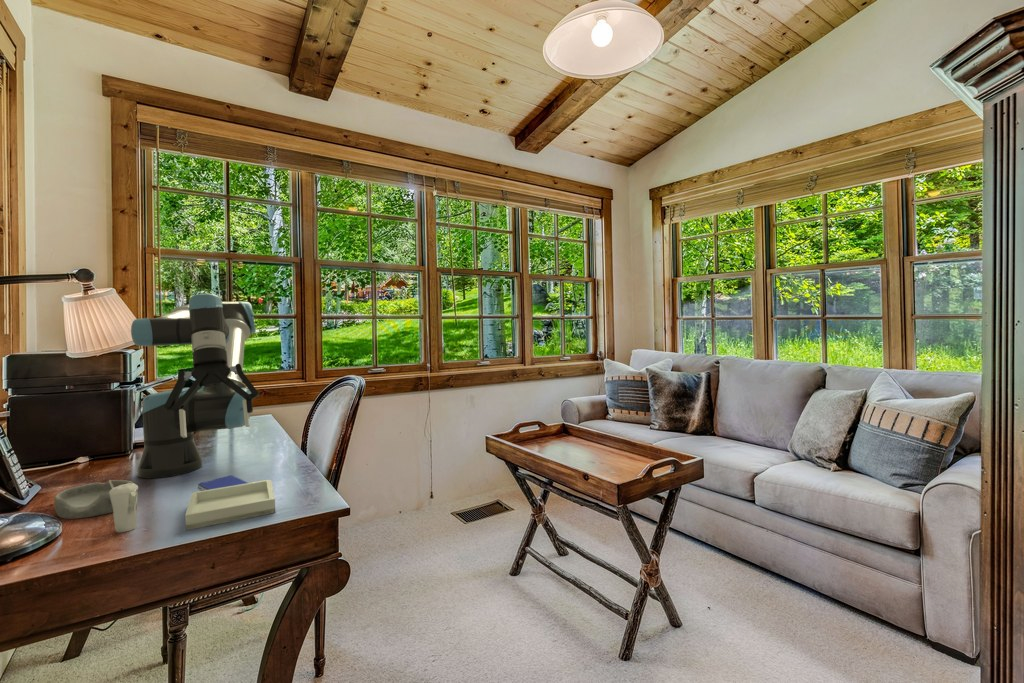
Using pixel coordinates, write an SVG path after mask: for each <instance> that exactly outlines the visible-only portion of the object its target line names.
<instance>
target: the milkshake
mask: <svg viewBox="0 0 1024 683" xmlns="http://www.w3.org/2000/svg"><path fill="white" fill-rule="evenodd" d="M108 482H109V483H110V485H111V488H112V489H111V490H110V492H109V494H110V500H111V505H112V510H113V512H112V515H113V520H114V521H113V522H114V527H115V532H116V533H127V532H130V531H132V530H135V529H137V523H138V522H137V521H138V498H139V497H138V496H139V486H138V485H137V484H136V483H134V482H133V483H127V484H122V485H119V486H117V487H114V486H113V484H112V482H111V479H109V480H108Z"/></svg>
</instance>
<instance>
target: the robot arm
mask: <svg viewBox="0 0 1024 683" xmlns="http://www.w3.org/2000/svg"><path fill="white" fill-rule="evenodd" d="M130 332H131V333H130V334H131V339H132V342H133V343H134V345H136V346H138V347H149V348H150V347H157V346H179V345H180V346H181V345H183V346H184V345H187V346H188V345H190V346H191V350H192V353H191V354H192V366H193V368H192V370H191V371H184V370H179V371H178V375H177V380H176V383H175V384H174V385H173V388H172V389H168V390H163V391H158V392H156V393H155V392H154V393H152V394H147V395H146V396H145V397H143V399H142V402H141V403H142V406H141V407H142V408H141V414H142V429H143V430H142V432H143V433H142V434H143V446H144V447H143V451H142V454H141V457H140V460H139V463H138V466H137V477H138V478H142V479H158V478H161V479H162V478H166V477H173V476H178V475H179V476H180V475H183V474H187V473H191V472H193V471H196V470H198V469H200V468H201V467H203V458H202V454H201V453H200V451H199V450H198V449H199V448H198V447H197V445H196V442H195V439H194V438H195V436H194V433H196V432H197V433H198V432H208V431H218V430H226V429H228V430H232V429H237V428H242V427H244V426H245V428H248V427H250V425H251V424H250V416H251V414H252V413H253V411H254V409H253V400H254V399H256V398H259V397H260V394H259V391H258V390H257V389H256V387H254V385H253V383H252V382H251V381H250V380H249V378H248V377H247V376H246V374H245V373H244V370H243V368H244V357H245V344H246V341H248V339H249V338H250V337H251V335H252V334H255V333H256V322H255V317H254V310H253V306H252V303H250V302H249V301H241V300H237V301H222V298H221V297H220V296H219V295H217V294H213V293H206V292H205V293H197V294H195V295H192V296H191V297H189V299H188V304H185V305H181V306H177V307H175V308H173V309H172V310H170V312H169V313H167V314H164V315H162V316H159V317H158V316H157V317H153V318H152V317H151V318H149V317H144V318H135V319H134V320H133V321H132V323H131V327H130ZM191 377H192V378H193V379H194V381H193V382H192V384H191V385H190V387H188V386H187V387H185V386H186V382H187V381H189V380H190V378H191ZM202 387H203V390H202V391H199V390H201V388H202Z"/></svg>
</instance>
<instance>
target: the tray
mask: <svg viewBox="0 0 1024 683" xmlns="http://www.w3.org/2000/svg"><path fill="white" fill-rule="evenodd" d="M275 513H276V497H275V493H274V488H273V483H272V480H271V479H266V480H265V479H264V480H257V481H253V482H248V483H246V484H240V485H234V486H228V487H222V488H216V489H210V490H198V491H193V492H191V496H190V499H189V502H188V504H187V509H186V512H185V516H184V517H185V531H189V530H193V529H194V530H195V529H199V528H204V527H205V528H206V527H211V526H214V525H220V524H224V523H228V522H229V523H230V522H235V521H241V520H244V519H249V518H257V517H260V516H265V515H269V514H275Z"/></svg>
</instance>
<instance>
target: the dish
mask: <svg viewBox="0 0 1024 683" xmlns="http://www.w3.org/2000/svg"><path fill="white" fill-rule="evenodd" d="M110 480H111V479H110ZM111 482H112V484H113V486H114V487H117V486H119V485H122V484H127V483H134V482H133V481H132V480H125V479H124V480H123V479H120V480H119V479H113V480H111ZM111 489H112V488H111V485H110V483H109V481H106V482H103V483H102V482H93V483H87V484H82V485H77V486H75V487H70V488H67V489H64V490H61V491H60V492H58V493H56V495H55V498H54V509H55V512H56V514H57V516H58V517H59V518H61V519H65V520H67V519H68V520H69V519H71V520H72V519H85V518H91V517H96V516H98V517H99V516H103V515H107V514H111V513H113V510H112V505H111V500H110V494H109V492H110V490H111Z"/></svg>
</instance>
